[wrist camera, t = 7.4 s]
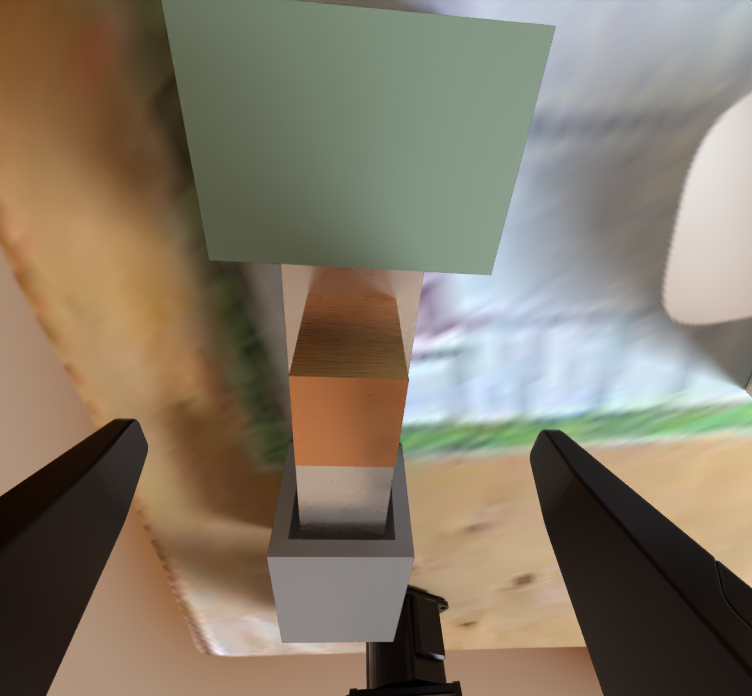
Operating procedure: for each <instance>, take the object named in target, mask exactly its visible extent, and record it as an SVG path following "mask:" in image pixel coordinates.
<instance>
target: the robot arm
mask: <svg viewBox="0 0 752 696" xmlns="http://www.w3.org/2000/svg"><path fill="white" fill-rule="evenodd" d="M147 452H148V444H147V441H146V439H145V436H144V434H143V431H142V428H141V426H140V423H139V422H138V421H137V420H136V419H124V418H118V419H114V420H112V421H111V422H109V423H108V424H106V425H105V426H103V427H102V428H100V429H99V430H97V431H96V432H95V433H93V434H92V435H90V436H89V437H87V438H86V439H84V440H83V441H81V442H80V443H78V444H77V445H75V446H74V447H72V448H71V449H69V450H68V451H67V452H65V453H64V454H62V455H61V456H59V457H58V458H56V459H55V460H53V461H52V462H50V463H49V464H47V465H46V466H44V467H43V468H41V469H40V470H39V471H37V472H36V473H34V474H33V475H31V476H30V477H28V478H27V479H25V480H24V481H22V482H21V483H19V484H18V485H16V486H15V487H14V488H12V489H11V490H9V491H8V492H6V493H5V494H3V495H2V496H0V696H46V695H47V693H48V690H49V688H50V686H51V684H52V682H53V679H54V677H55V675H56V673H57V671H58V668H59V666H60V664H61V662H62V660H63V657H64V655H65V653H66V651H67V649H68V646H69V644H70V642H71V640H72V638H73V635H74V633H75V631H76V629H77V627H78V624H79V622H80V620H81V618H82V615H83V613H84V611H85V609H86V607H87V604H88V602H89V600H90V598H91V596H92V593H93V591H94V589H95V587H96V585H97V582H98V580H99V578H100V576H101V573H102V571H103V569H104V567H105V565H106V562H107V560H108V558H109V556H110V553H111V551H112V549H113V547H114V545H115V543H116V540H117V538H118V536H119V534H120V531H121V529H122V527H123V524H124V522H125V520H126V517H127V514H128V511H129V508H130V505H131V502H132V499H133V496H134V493H135V490H136V487H137V484H138V481H139V478H140V475H141V472H142V469H143V466H144V463H145V459H146V456H147ZM530 463H531V467H532V472H533V476H534V480H535V485H536V489H537V493H538V498H539V502H540V506H541V511H542V515H543V519H544V523H545V526H546V529H547V532H548V536H549V539H550V541H551V544H552V547H553V550H554V553H555V556H556V559H557V562H558V565H559V567H560V570H561V573H562V576H563V579H564V582H565V585H566V588H567V591H568V594H569V596H570V599H571V602H572V605H573V608H574V611H575V614H576V617H577V620H578V623H579V625H580V628H581V631H582V634H583V637H584V640H585V643H586V646H587V649H588V651H589V654H590V657H591V660H592V663H593V666H594V669H595V672H596V675H597V678H598V680H599V683H600V686H601V689H602V692H603V695H604V696H752V588H751V587H750V586H749V585H748V584H746V583H745V582H744V581H743V580H741V579H740V578H739V577H738V576H736V575H735V574H734V573H733V572H732V571H730V570H729V569H728V568H727V567H726V566H724V565H723V564H722V563H721V562H720V561H715V558H714V557H713V556H712V555H711V554H710V553H708V552H707V551H706V550H705V549H704V548H702V547H701V546H700V545H699V544H698V543H696V542H695V541H694V540H693V539H692V538H690V537H689V536H688V535H687V534H686V533H684V532H683V531H682V530H681V529H680V528H678V527H677V526H676V525H675V524H674V523H672V522H671V521H670V520H669V519H667V518H666V517H665V516H664V515H663V514H661V513H660V512H659V511H658V510H657V509H655V508H654V507H653V506H652V505H651V504H649V503H648V502H647V501H646V500H645V499H643V498H642V497H641V496H640V495H639V494H637V493H636V492H635V491H634V490H633V489H631V488H630V487H629V486H628V485H626V484H625V483H624V482H623V481H622V480H620V479H619V478H618V477H617V476H616V475H614V474H613V473H612V472H611V471H610V470H608V469H607V468H606V467H605V466H604V465H602V464H601V463H600V462H599V461H598V460H596V459H595V458H594V457H593V456H591V455H590V454H589V453H588V452H587V451H585V450H584V449H583V448H582V447H581V446H579V445H578V444H577V443H576V442H575V441H573V440H572V439H571V438H570V437H569V436H567V435H566V434H565V433H564V432H562V431H561V430H557V429H543V430H542V431H540V433H539V435H538V437H537V439H536V441H535V443H534V446H533V448H532V450H531V453H530ZM448 608H449V607H448V602H447V601H444V600H441V599H438V598H434V597H431V596H428V595H425V594H422V593H418V592H415V591H412V590H409V589H406V593H405V597H404V601H403V605H402V609H401V613H400V617H399V621H398V625H397V629H396V633H395V637H394V641H393V642H366V665H367V666H366V671H367V672H366V673H367V689H361V690H357V689H350V693H349V695H346V696H462V692H461V687H460V682H459V681H454V682H453V683H446V676H445V669H444V662H443V660H444V659H445V650H444V643H443V637H442V630H441V623H440V616H439V614H440V613H442V612H443V611H445V610H447V609H448Z"/></svg>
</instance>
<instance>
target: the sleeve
mask: <svg viewBox="0 0 752 696" xmlns="http://www.w3.org/2000/svg"><path fill="white" fill-rule="evenodd" d="M267 560H268V566H269V572H270V577H271V583H272V589H273V594H274V600H275V606H276V612H277V617H278V623H279V629H280V635H281V640H282V643H319V642H393V641H394V637H395V633H396V629H397V625H398V621H399V617H400V613H401V609H402V605H403V601H404V597H405V593H406V589H407V585H408V581H409V577H410V573H411V569H412V565H413V561H414V549H413V540H412V531H411V522H410V513H409V504H408V495H407V486H406V477H405V467H404V458H403V449H402V444H399V446H398V453H397V459H396V466H395V467H394V471H393V478H392V484H391V491H390V497H389V504H388V510H387V517H386V524H385V530H384V537H383V540H301V533H300V520H299V506H298V492H297V478H296V466H295V455H294V442H289V443H288V449H287V454H286V459H285V464H284V470H283V475H282V480H281V486H280V491H279V496H278V501H277V507H276V512H275V517H274V522H273V528H272V533H271V538H270V544H269V549H268V554H267Z"/></svg>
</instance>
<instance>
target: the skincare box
mask: <svg viewBox="0 0 752 696" xmlns="http://www.w3.org/2000/svg"><path fill="white" fill-rule="evenodd" d="M746 392H747V393H748V394H749V395H750V396H751V397H752V376H751V378H750V381H749V383H748V385H747V387H746Z"/></svg>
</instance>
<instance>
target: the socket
mask: <svg viewBox="0 0 752 696" xmlns="http://www.w3.org/2000/svg"><path fill="white" fill-rule="evenodd" d="M161 1H162V6H163V12H164V17H165V23H166V28H167V34H168V39H169V44H170V50H171V55H172V61H173V66H174V72H175V77H176V82H177V88H178V93H179V99H180V104H181V110H182V115H183V121H184V126H185V131H186V137H187V142H188V148H189V153H190V159H191V164H192V169H193V175H194V180H195V186H196V191H197V197H198V202H199V207H200V213H201V218H202V224H203V229H204V235H205V240H206V246H207V251H208V256H209V260H213V261H232V262H251V263H270V264H289V265H308V266H327V267H346V268H365V269H384V270H403V271H422V272H441V273H460V274H479V275H491V273H492V269H493V266H494V262H495V258H496V254H497V250H498V246H499V243H500V239H501V235H502V231H503V227H504V223H505V219H506V216H507V212H508V208H509V204H510V200H511V196H512V193H513V189H514V185H515V181H516V177H517V173H518V170H519V166H520V162H521V158H522V154H523V150H524V147H525V143H526V139H527V135H528V131H529V127H530V124H531V120H532V116H533V112H534V108H535V104H536V100H537V97H538V93H539V89H540V85H541V81H542V77H543V74H544V70H545V66H546V62H547V58H548V54H549V51H550V47H551V43H552V39H553V35H554V31H555V28H556V26H551V25H541V24H531V23H520V22H510V21H500V20H490V19H479V18H469V17H459V16H449V15H439V14H428V13H418V12H408V11H398V10H387V9H377V8H367V7H357V6H346V5H336V4H326V3H316V2H306V1H295V0H161Z"/></svg>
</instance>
